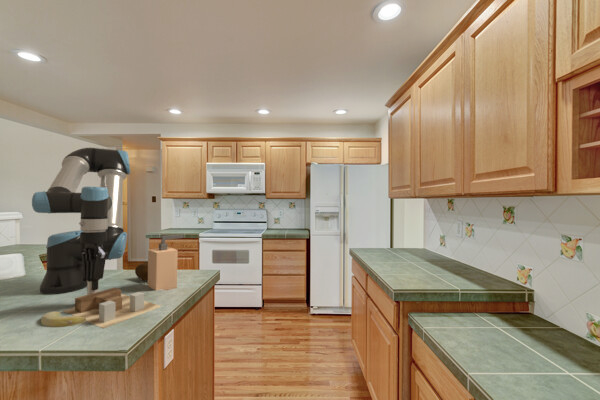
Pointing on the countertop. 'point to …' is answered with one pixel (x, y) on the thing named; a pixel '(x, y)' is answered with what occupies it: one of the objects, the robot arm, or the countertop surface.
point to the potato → (142, 271)
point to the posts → (109, 307)
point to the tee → (98, 300)
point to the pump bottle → (163, 265)
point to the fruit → (60, 320)
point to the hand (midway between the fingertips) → (92, 298)
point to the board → (120, 315)
